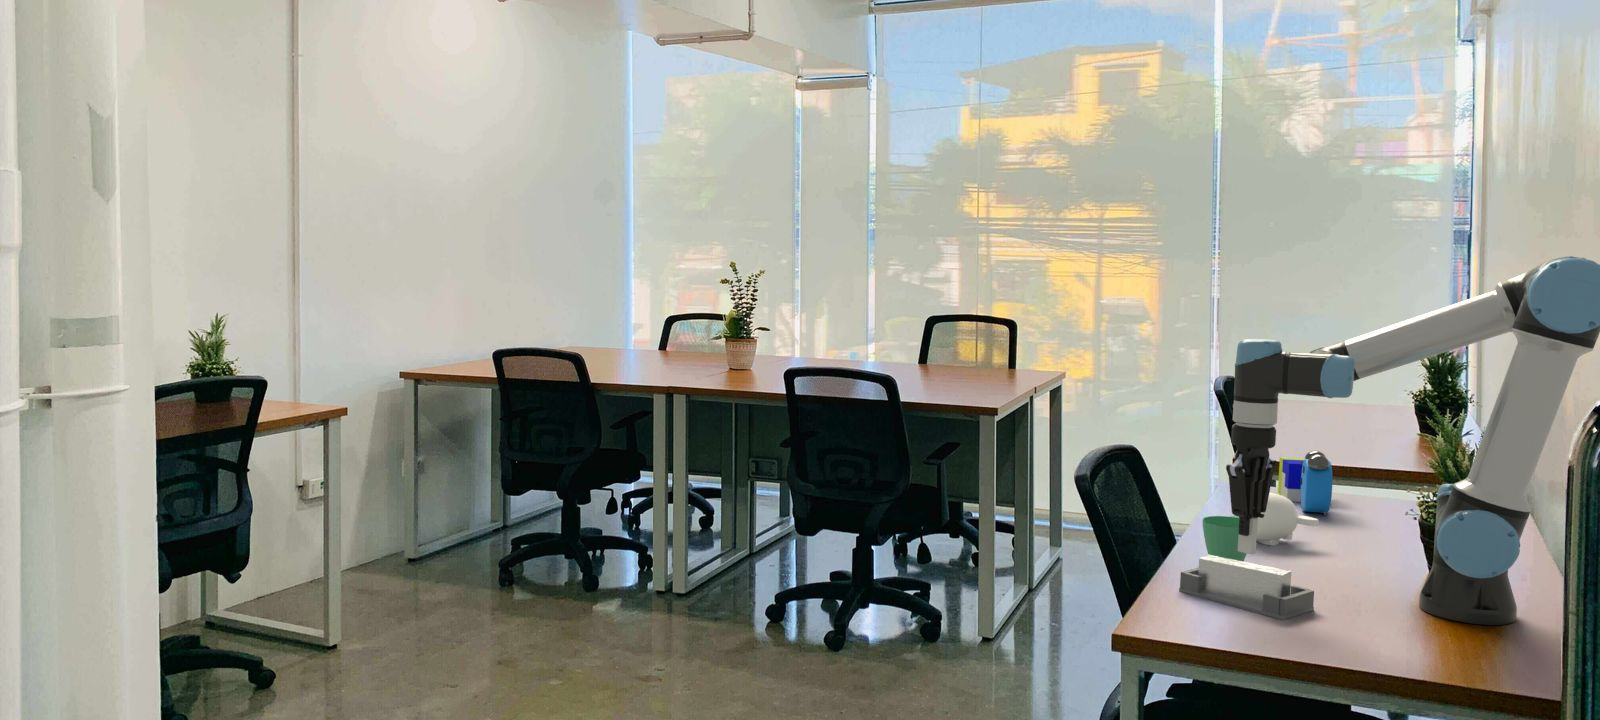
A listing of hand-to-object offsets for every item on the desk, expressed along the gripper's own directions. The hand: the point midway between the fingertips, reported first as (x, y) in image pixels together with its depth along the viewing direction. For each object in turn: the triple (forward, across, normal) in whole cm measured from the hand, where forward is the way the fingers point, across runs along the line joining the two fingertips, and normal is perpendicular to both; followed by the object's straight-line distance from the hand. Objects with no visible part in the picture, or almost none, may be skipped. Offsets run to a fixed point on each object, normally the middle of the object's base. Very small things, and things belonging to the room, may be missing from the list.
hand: (1246, 552), depth 212 cm
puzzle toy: (+9, -98, -44) cm, 108 cm away
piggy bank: (+9, -46, -21) cm, 51 cm away
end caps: (+9, 0, 0) cm, 9 cm away
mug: (+9, -18, -15) cm, 25 cm away
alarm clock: (+9, -84, -33) cm, 91 cm away
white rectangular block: (+8, 0, 0) cm, 8 cm away
